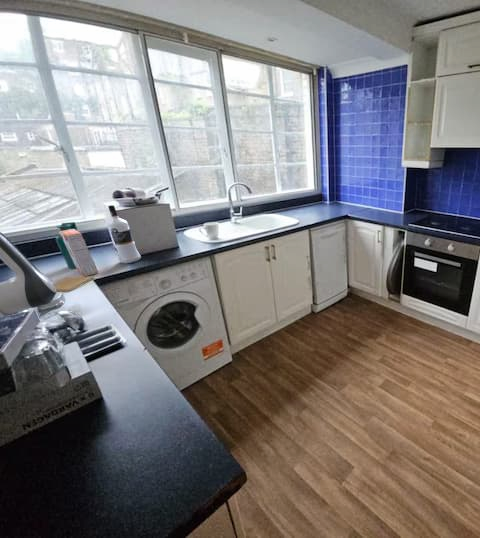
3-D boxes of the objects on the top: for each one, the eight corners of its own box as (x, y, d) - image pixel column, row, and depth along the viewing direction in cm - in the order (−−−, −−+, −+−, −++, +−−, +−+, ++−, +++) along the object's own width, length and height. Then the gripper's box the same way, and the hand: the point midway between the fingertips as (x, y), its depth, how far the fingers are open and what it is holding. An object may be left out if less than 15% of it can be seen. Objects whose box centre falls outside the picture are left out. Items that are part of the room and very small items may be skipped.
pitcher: (87, 266, 153) (69, 225, 144) (67, 269, 150) (47, 227, 141) (95, 260, 161) (78, 221, 153) (76, 263, 159) (58, 223, 150)
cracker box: (76, 271, 148) (58, 231, 139) (91, 267, 152) (74, 228, 144) (83, 277, 140) (64, 235, 131) (99, 273, 144) (81, 232, 136)
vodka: (145, 257, 163) (126, 203, 151) (132, 264, 154) (111, 207, 142) (130, 257, 164) (110, 203, 152) (116, 264, 155) (94, 207, 143)
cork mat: (70, 291, 127) (69, 289, 126) (39, 292, 127) (38, 290, 126) (94, 278, 139) (93, 276, 138) (66, 279, 139) (65, 277, 138)
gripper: (59, 296, 98) (63, 283, 108) (-35, 319, 86) (-22, 301, 96) (67, 312, 100) (70, 298, 110) (-24, 336, 89) (-12, 318, 99)
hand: (26, 300), depth 103 cm, fingers open, 8 cm apart
